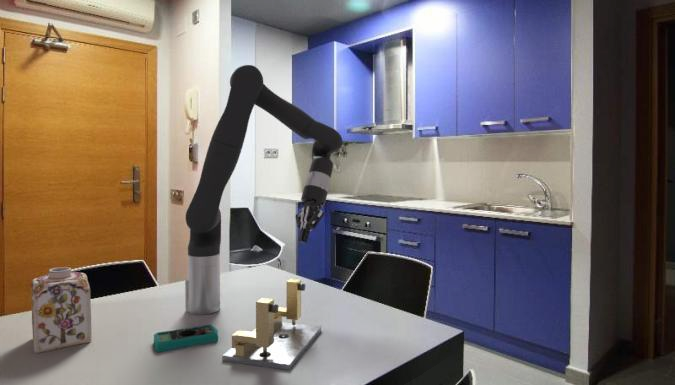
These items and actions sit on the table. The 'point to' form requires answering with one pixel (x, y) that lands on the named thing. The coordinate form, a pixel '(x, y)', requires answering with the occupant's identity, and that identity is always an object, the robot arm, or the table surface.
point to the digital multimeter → (185, 337)
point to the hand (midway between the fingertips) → (302, 242)
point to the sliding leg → (292, 301)
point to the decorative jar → (60, 310)
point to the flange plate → (279, 347)
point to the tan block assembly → (258, 329)
